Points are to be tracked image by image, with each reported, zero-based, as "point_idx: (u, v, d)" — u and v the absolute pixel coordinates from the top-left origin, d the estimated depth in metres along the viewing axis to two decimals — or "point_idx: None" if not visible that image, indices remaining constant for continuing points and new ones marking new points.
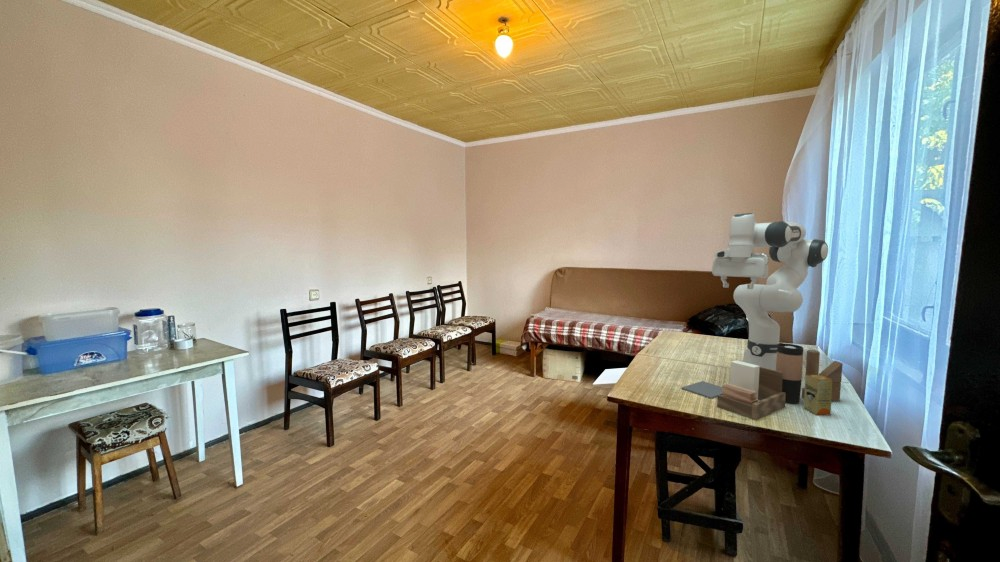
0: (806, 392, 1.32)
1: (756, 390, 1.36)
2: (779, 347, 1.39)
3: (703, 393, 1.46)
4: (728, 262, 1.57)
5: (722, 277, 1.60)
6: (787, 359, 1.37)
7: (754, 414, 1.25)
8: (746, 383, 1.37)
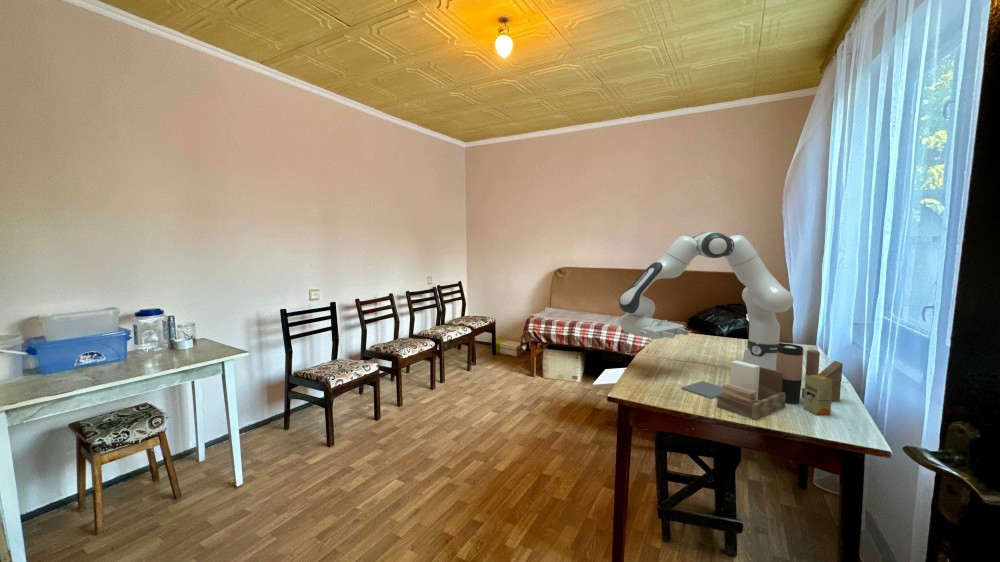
0: (806, 392, 1.32)
1: (756, 390, 1.36)
2: (779, 347, 1.39)
3: (703, 393, 1.46)
4: None
5: None
6: (787, 359, 1.37)
7: (754, 414, 1.25)
8: (746, 383, 1.37)
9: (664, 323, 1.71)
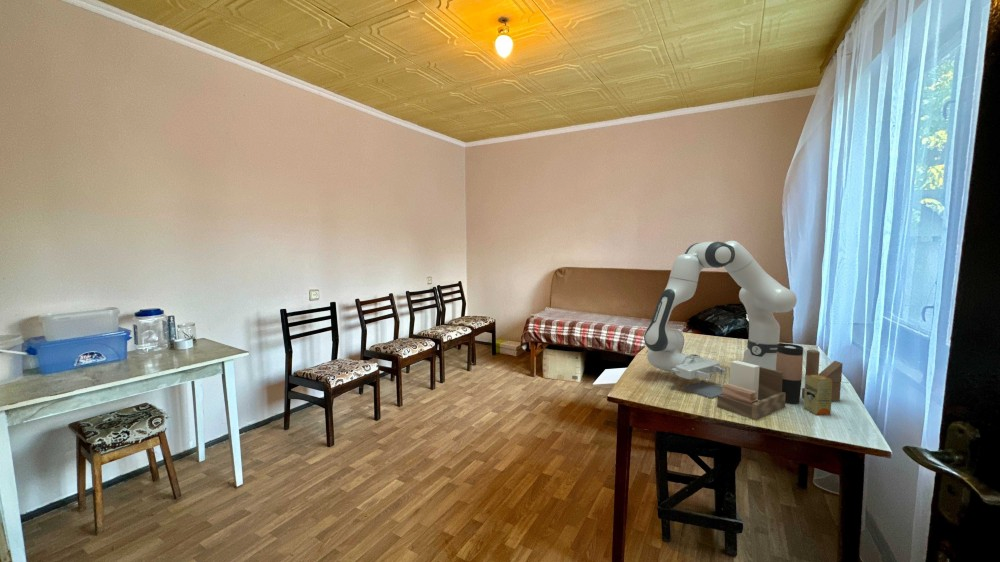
0: (806, 392, 1.32)
1: (756, 390, 1.36)
2: (779, 347, 1.39)
3: (703, 393, 1.46)
4: None
5: None
6: (787, 359, 1.37)
7: (754, 414, 1.25)
8: (746, 383, 1.37)
9: (697, 359, 1.58)
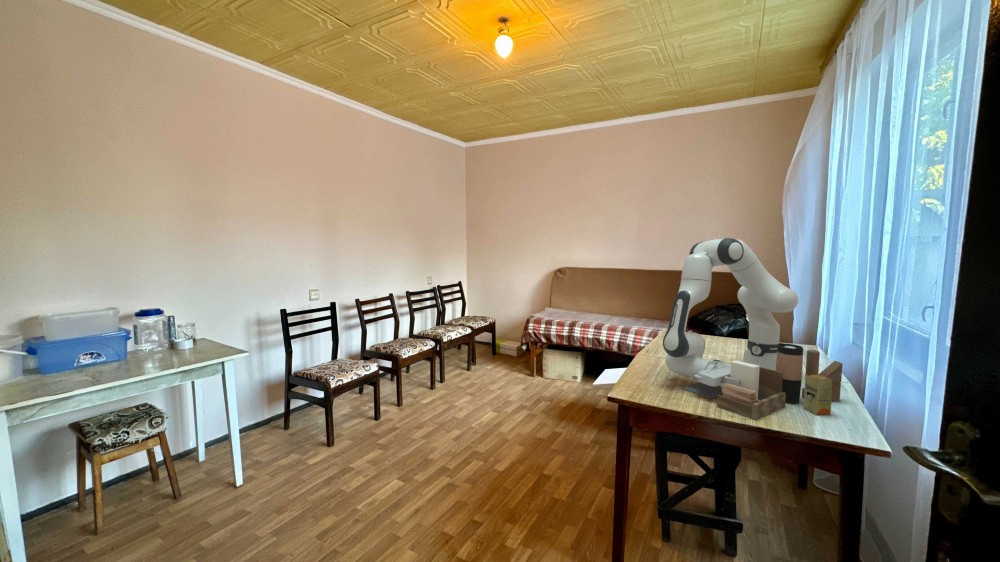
0: (806, 392, 1.32)
1: (756, 390, 1.36)
2: (779, 347, 1.39)
3: (703, 393, 1.46)
4: None
5: None
6: (787, 359, 1.37)
7: (754, 414, 1.25)
8: (746, 383, 1.37)
9: (720, 365, 1.50)
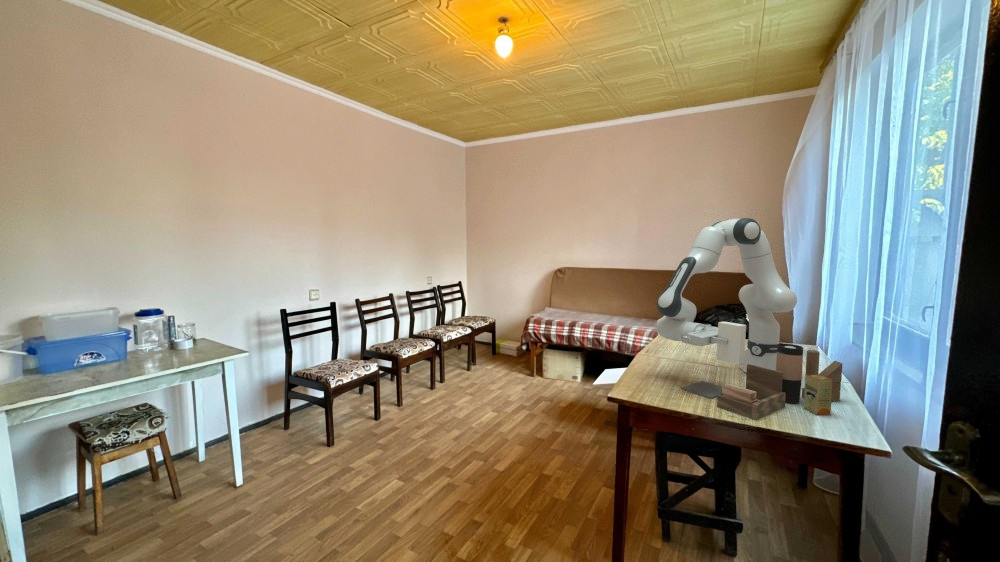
0: (806, 392, 1.32)
1: (743, 349, 1.39)
2: (779, 347, 1.39)
3: (703, 393, 1.46)
4: None
5: None
6: (787, 359, 1.37)
7: (754, 414, 1.25)
8: (733, 342, 1.40)
9: (708, 328, 1.53)
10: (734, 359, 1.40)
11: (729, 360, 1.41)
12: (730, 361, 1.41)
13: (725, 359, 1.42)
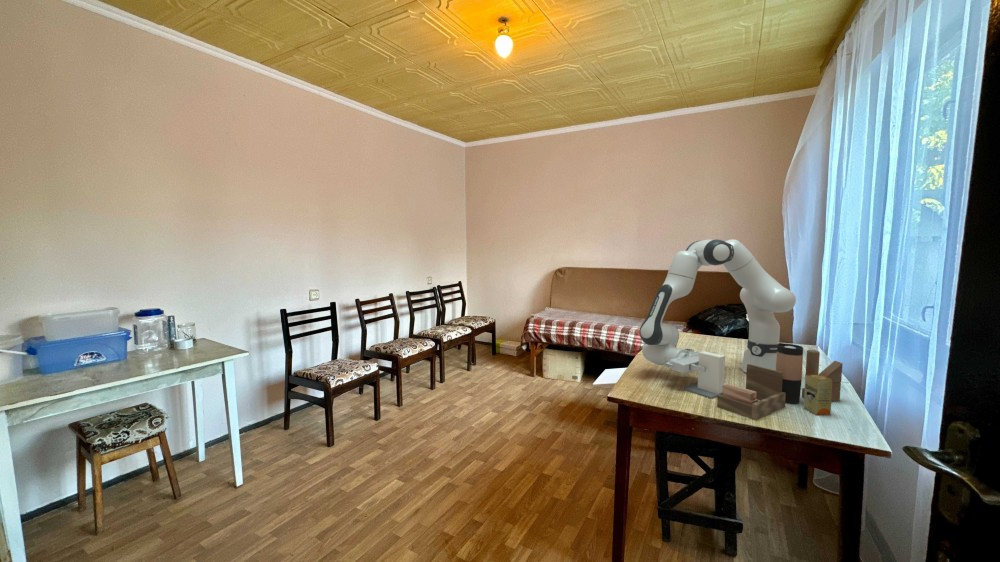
0: (806, 392, 1.32)
1: (722, 378, 1.46)
2: (779, 347, 1.39)
3: (703, 393, 1.46)
4: None
5: None
6: (787, 359, 1.37)
7: (754, 414, 1.25)
8: (712, 372, 1.47)
9: (691, 353, 1.60)
10: (714, 388, 1.47)
11: (709, 389, 1.48)
12: (710, 390, 1.48)
13: (705, 388, 1.49)
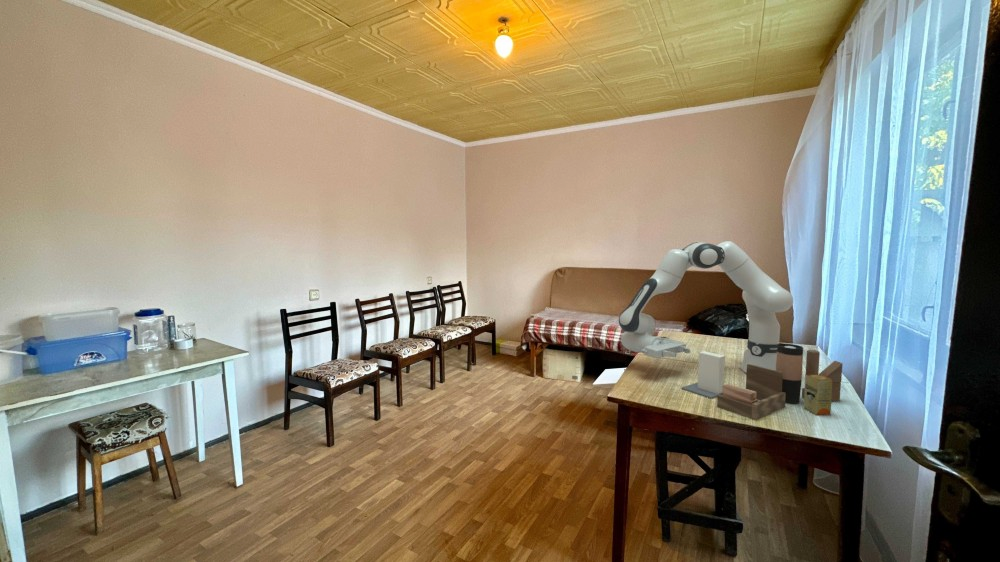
0: (806, 392, 1.32)
1: (722, 378, 1.46)
2: (779, 347, 1.39)
3: (703, 393, 1.46)
4: None
5: None
6: (787, 359, 1.37)
7: (754, 414, 1.25)
8: (712, 372, 1.47)
9: (666, 341, 1.71)
10: (714, 388, 1.47)
11: (709, 389, 1.48)
12: (710, 390, 1.48)
13: (705, 388, 1.49)
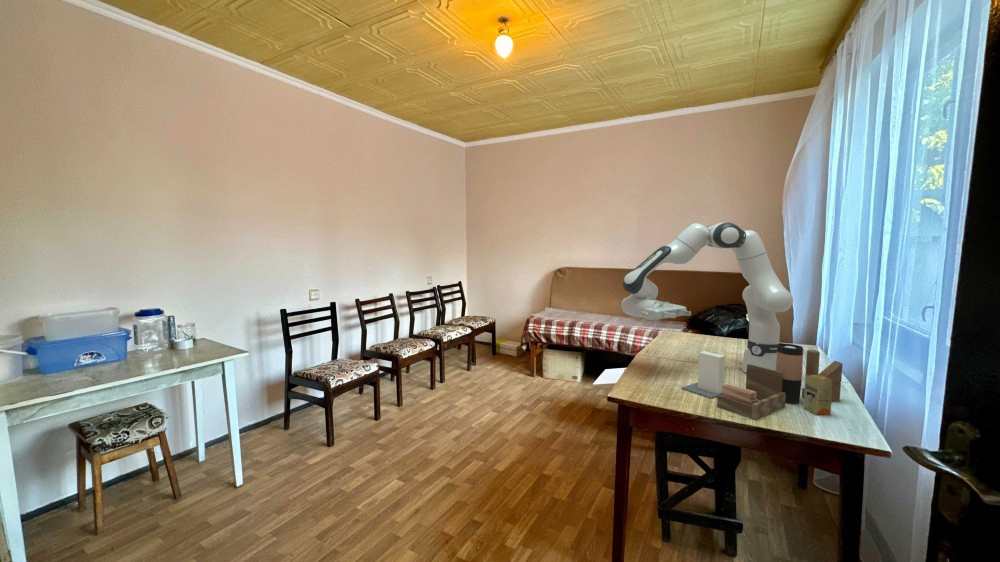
0: (806, 392, 1.32)
1: (722, 378, 1.46)
2: (779, 347, 1.39)
3: (703, 393, 1.46)
4: None
5: None
6: (787, 359, 1.37)
7: (754, 414, 1.25)
8: (712, 372, 1.47)
9: (666, 305, 1.69)
10: (714, 388, 1.47)
11: (709, 389, 1.48)
12: (710, 390, 1.48)
13: (705, 388, 1.49)
